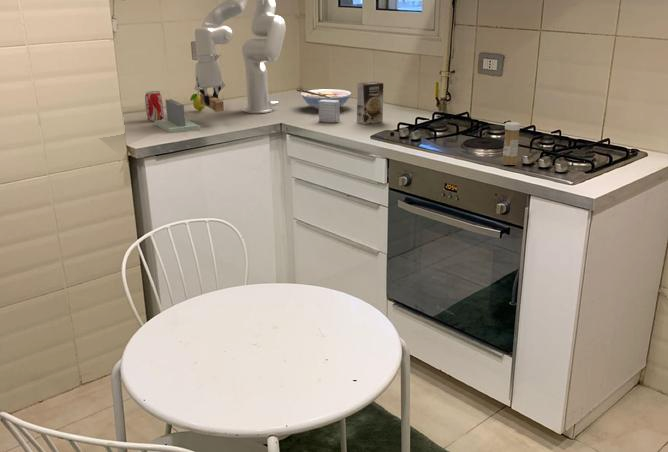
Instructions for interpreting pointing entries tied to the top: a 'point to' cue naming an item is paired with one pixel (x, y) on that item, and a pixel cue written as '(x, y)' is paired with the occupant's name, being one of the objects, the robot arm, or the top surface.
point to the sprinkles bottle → (511, 142)
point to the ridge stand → (176, 118)
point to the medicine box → (329, 111)
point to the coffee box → (370, 102)
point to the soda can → (154, 105)
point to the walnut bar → (213, 103)
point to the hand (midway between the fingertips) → (211, 103)
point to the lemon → (197, 102)
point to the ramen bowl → (324, 96)
